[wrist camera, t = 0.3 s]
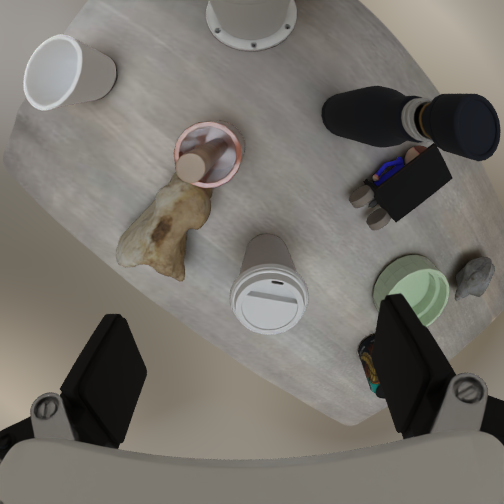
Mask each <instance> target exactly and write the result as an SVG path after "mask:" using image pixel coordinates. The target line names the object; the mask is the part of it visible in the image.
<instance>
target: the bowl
mask: <svg viewBox="0 0 504 504" xmlns="http://www.w3.org/2000/svg"><path fill="white" fill-rule="evenodd" d="M398 293H401V294H402V295H403V296H404V297H405V299H406V300H407V302H408V303H409V305H410V306H411V308H412V309H413V311H414V312H415V314H416V315H417V317H418V318H419V320H420V321H421V323H422V324H423V325H424V326H426V327H427V326H429V325H430V324H432V323H433V322H434V321H435V320H436V319H437V318H438V317H439V315H440V314H441V313H442V311H443V309H444V308H445V306H446V304H447V300H448V297H449V284H448V281H447V279H446V277H445V276H444V275H443V274H442V273H441V272H440V270H439V269H438V268H437V267H436V266H435V265H434V264H433V263H432V262H431V261H429V260H428V259H427V258H426V257H423V256H420V255H408V256H405V257H402V258H400V259H397V260H395V261H394V262H393V263H391V264H390V265H389V266H387V267H386V269H385V270H384V271H383V272H382V273H381V275H380V276H379V278H378V280H377V282H376V284H375V286H374V293H373V299H374V304H375V307H376V309H377V310H378V312H379V308H380V302H381V300H384V299H385V297H386V295H391V294H398Z"/></svg>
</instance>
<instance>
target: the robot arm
mask: <svg viewBox="0 0 504 504" xmlns="http://www.w3.org/2000/svg"><path fill="white" fill-rule="evenodd" d="M206 20H207V24H208V26H209V29H210V31H211V32H212V34H213V35H214V36H215V37H216V38H217V39H218V40H219V41H220V42H222V43H223V44H225V45H227V46H229V47H231V48H234V49H237V50H241V51H261V50H266V49H269V48H272V47H274V46H276V45H278V44H280V43H281V42H282V41H284V40H285V39H286V38H287V37H288V36H289V34H290V33H291V32H292V30H293V28H294V26H295V23H296V20H297V7H296V4H295V2H294V0H209V2H208V5H207V8H206ZM286 27H288V28H289V29H286ZM217 31H220V33H217ZM253 45H256V47H252V46H253ZM371 358H372V363H373V366H374V369H375V371H376V374H377V377H378V380H379V382H380V385H381V388H382V391H383V393H384V396H385V399H386V402H387V405H388V408H389V410H390V413H391V416H392V419H393V422H394V425H395V428H396V431H397V432H398V433H400V432H401V433H402V436H403V440H399V441H395V442H391V443H386V444H381V445H376V446H371V447H366V448H360V449H355V450H349V451H343V452H337V453H330V454H323V455H313V456H304V457H293V458H280V459H279V458H278V459H259V460H217V459H195V458H181V457H170V456H160V455H152V454H145V453H137V452H131V451H125V450H119V449H118V448H119V445H120V443H123V441H124V439H125V436H126V433H127V430H128V427H129V424H130V421H131V418H132V415H133V412H134V409H135V407H136V404H137V401H138V398H139V395H140V393H141V389H142V387H143V384H144V381H145V379H146V375H147V370H146V366H145V364H144V362H143V359H142V357H141V355H140V352H139V350H138V348H137V345H136V343H135V341H134V338H133V335H132V333H131V331H130V328H129V325H128V323H127V320H126V319H125V318H123V317H122V316H121V315H120V314H106V315H105V316H104V317H103V319H102V320H101V322H100V324H99V325H98V326H97V328H96V330H95V331H94V333H93V334H92V336H91V337H90V339H89V341H88V342H87V344H86V345H85V347H84V349H83V350H82V352H81V354H80V355H79V357H78V358H77V360H76V362H75V363H74V365H73V367H72V369H71V370H70V372H69V374H68V376H67V378H66V379H65V381H64V382H63V384H62V386H61V388H60V390H61V391H62V393H61V394H60V396H59V395H58V394H56V393H45V394H43V395H41V396H39V397H38V398H37V399H36V400H35V401H34V402H33V404H32V406H31V409H30V414H31V416H30V417H28V418H26V419H24V420H22V421H20V422H18V423H16V424H14V425H12V426H10V427H8V428H6V429H3V430H2V431H0V504H504V401H503V400H500V399H497V398H494V397H491V396H489V395H488V388H487V385H486V383H485V382H484V381H483V379H481V378H480V377H479V376H477V375H475V374H472V373H461V374H458V375H456V374H455V372H454V370H453V369H452V367H451V365H450V364H449V362H448V360H447V359H446V357H445V355H444V354H443V352H442V350H441V349H440V347H439V346H438V344H437V342H436V341H435V339H434V338H433V336H432V334H431V333H430V331H429V330H428V328H427V327H426V326H424V325H423V324H422V323H421V321H420V320H419V318H418V317H417V315H416V314H415V312H414V311H413V309H412V308H411V306H410V305H409V303H408V302H407V300H406V299H405V297H404V296H403V295H402V294H401V293H398V294H391V295H386V297H385V299H384V300H381V302H380V308H379V315H378V321H377V327H376V333H375V338H374V344H373V349H372V355H371ZM411 437H412V438H411Z"/></svg>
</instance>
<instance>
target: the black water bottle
mask: <svg viewBox="0 0 504 504" xmlns="http://www.w3.org/2000/svg"><path fill="white" fill-rule="evenodd" d="M322 119H323V123H324V125H325V126H326V128H327V129H328V130H329V131H330V132H331V133H333V134H335V135H337V136H340V137H344V138H347V139H351V140H355V141H358V142H361V143H365V144H368V145H371V146H376V147H390V146H395V145H400V144H402V143H403V142H405V141H412V142H416V143H419V142H434V143H435V144H436V146H437V147H439V148H440V149H442V150H443V151H446V152H450V153H453V154H456V155H460V156H463V157H466V158H469V159H472V160H476V161H482V160H486V159H488V158H489V157H491V156H492V155H493V153H494V152H495V151H496V149H497V146H498V144H499V140H500V123H499V118H498V116H497V113H496V111H495V109H494V108H493V106H492V104H491V103H490V102H489V101H488V100H487V99H486V98H484V97H483V96H480V95H478V94H441V95H439V96H437V97H435V98H434V99H433V100H430V99H427V98H422V97H418V96H405V95H403V94H402V93H400V92H398V91H397V90H394V89H391V88H386V87H382V86H371V87H366V88H361V89H357V90H353V91H348V92H344V93H340V94H336V95H334V96H332V97H330V98H329V99H328V100H327V101H326V102H325V103H324V106H323V108H322Z"/></svg>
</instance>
